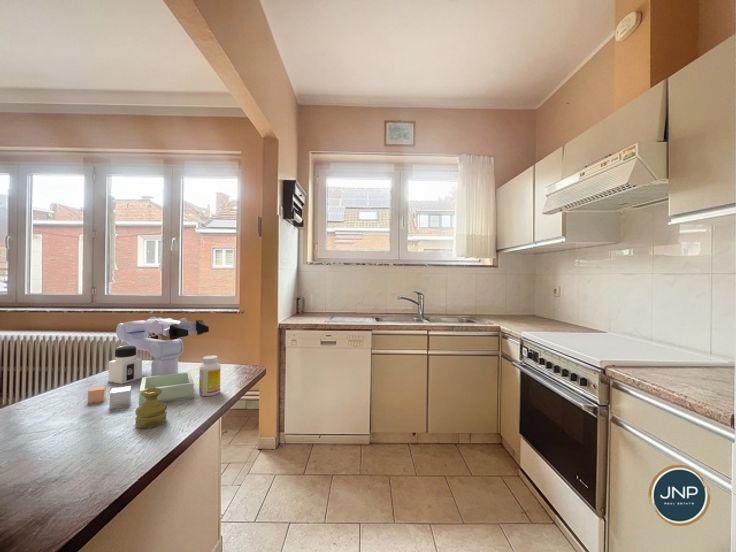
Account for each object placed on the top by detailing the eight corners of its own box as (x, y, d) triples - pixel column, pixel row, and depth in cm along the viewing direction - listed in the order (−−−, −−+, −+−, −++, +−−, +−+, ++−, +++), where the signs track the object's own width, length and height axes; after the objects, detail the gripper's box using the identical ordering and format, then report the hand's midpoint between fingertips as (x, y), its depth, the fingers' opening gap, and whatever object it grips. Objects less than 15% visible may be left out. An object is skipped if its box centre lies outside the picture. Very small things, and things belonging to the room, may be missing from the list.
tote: (142, 391, 115) (142, 377, 115) (190, 384, 123) (190, 371, 123) (139, 406, 103) (139, 390, 103) (193, 398, 111) (193, 383, 110)
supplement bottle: (223, 390, 118) (224, 355, 118) (213, 397, 112) (214, 359, 112) (206, 389, 119) (207, 354, 119) (194, 396, 112) (195, 358, 112)
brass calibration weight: (132, 431, 87) (133, 394, 87) (137, 420, 94) (138, 385, 94) (165, 426, 90) (166, 390, 90) (167, 415, 97) (168, 381, 97)
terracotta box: (90, 399, 108) (90, 387, 108) (105, 397, 110) (105, 385, 110) (87, 403, 104) (87, 391, 104) (103, 401, 106) (103, 389, 106)
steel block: (111, 403, 105) (112, 388, 105) (131, 401, 107) (131, 385, 107) (109, 409, 100) (109, 393, 100) (129, 406, 103) (129, 390, 103)
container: (142, 378, 130) (142, 345, 129) (121, 384, 122) (122, 349, 122) (128, 375, 132) (129, 343, 132) (107, 381, 125) (108, 347, 125)
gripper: (155, 320, 118) (177, 323, 111) (194, 314, 130) (215, 317, 124) (156, 339, 118) (177, 343, 111) (195, 332, 131) (216, 335, 124)
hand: (197, 331), depth 117 cm, fingers open, 7 cm apart
